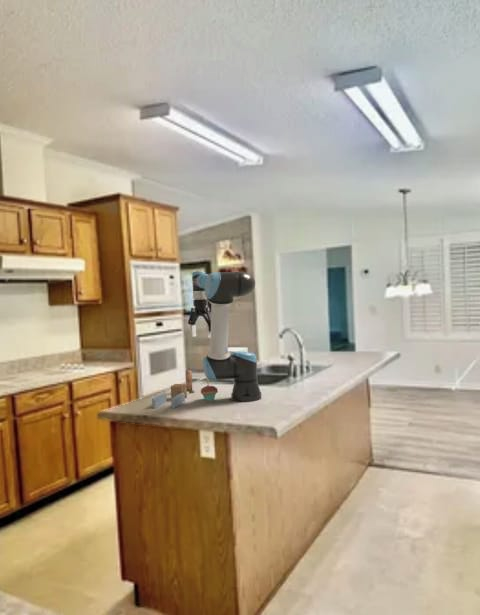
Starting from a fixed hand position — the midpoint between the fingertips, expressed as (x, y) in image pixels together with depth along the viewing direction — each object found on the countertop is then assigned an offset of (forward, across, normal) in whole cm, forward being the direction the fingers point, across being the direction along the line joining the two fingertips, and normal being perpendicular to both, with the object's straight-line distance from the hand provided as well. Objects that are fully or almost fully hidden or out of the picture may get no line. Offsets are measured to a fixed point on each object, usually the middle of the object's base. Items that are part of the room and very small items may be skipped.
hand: (201, 337), depth 273 cm
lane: (+29, -16, +37) cm, 49 cm away
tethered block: (+29, -6, +19) cm, 35 cm away
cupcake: (+29, -25, +18) cm, 42 cm away
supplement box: (+29, +7, -30) cm, 42 cm away
